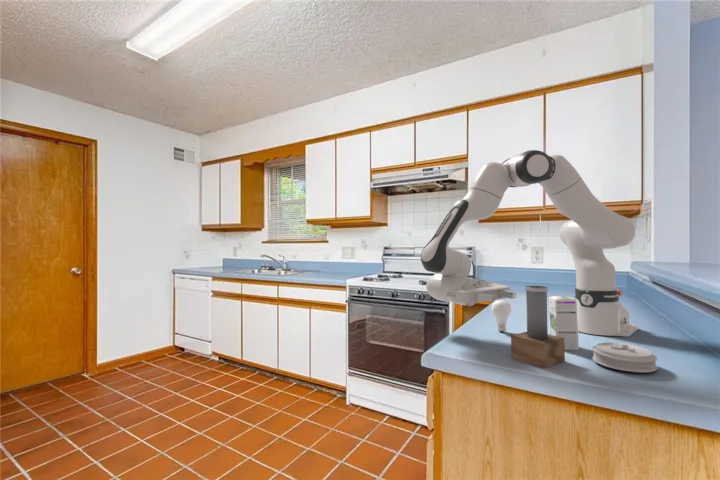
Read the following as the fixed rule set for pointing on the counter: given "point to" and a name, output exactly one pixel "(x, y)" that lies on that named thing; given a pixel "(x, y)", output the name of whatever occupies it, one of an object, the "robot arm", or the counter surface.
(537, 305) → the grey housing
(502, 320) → the lightbulb
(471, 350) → the counter surface
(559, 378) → the counter surface
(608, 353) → the lid
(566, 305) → the syrup box
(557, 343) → the walnut stand
